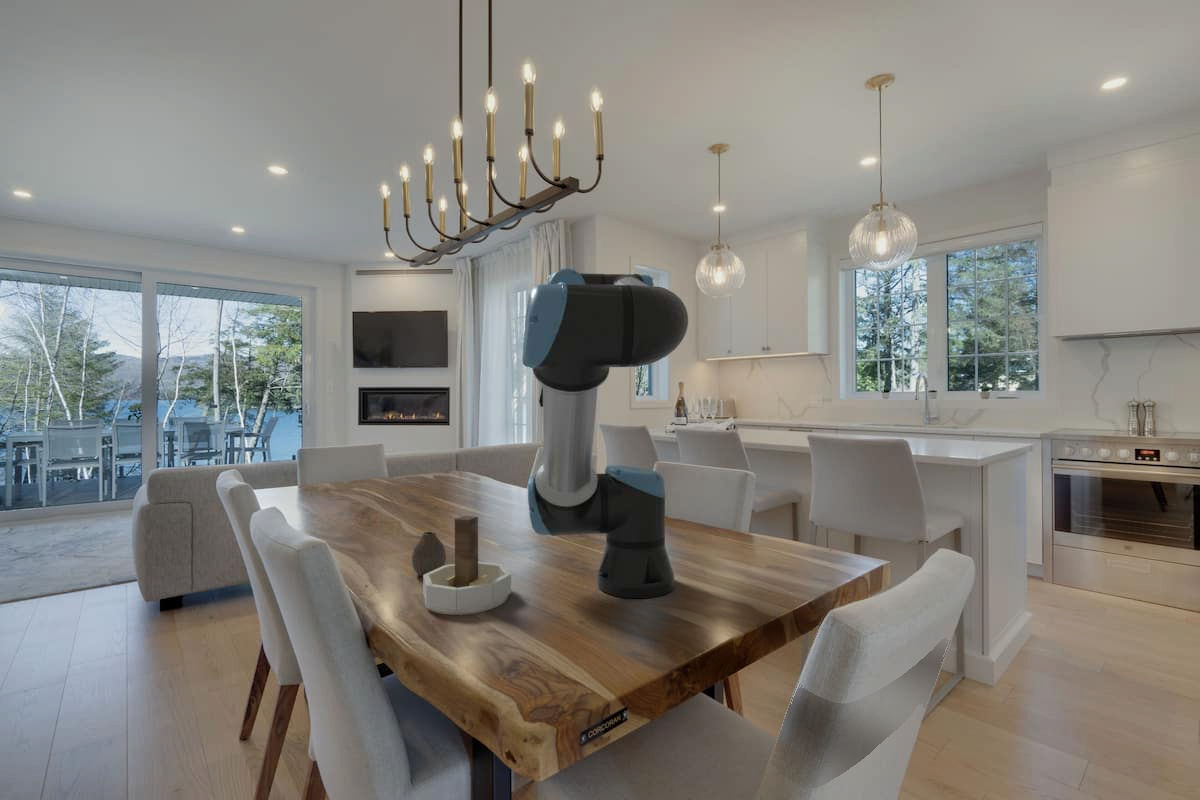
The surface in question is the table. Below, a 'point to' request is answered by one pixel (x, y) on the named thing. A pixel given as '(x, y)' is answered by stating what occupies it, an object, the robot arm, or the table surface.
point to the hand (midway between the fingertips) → (564, 435)
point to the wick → (466, 550)
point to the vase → (428, 554)
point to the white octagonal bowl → (466, 590)
